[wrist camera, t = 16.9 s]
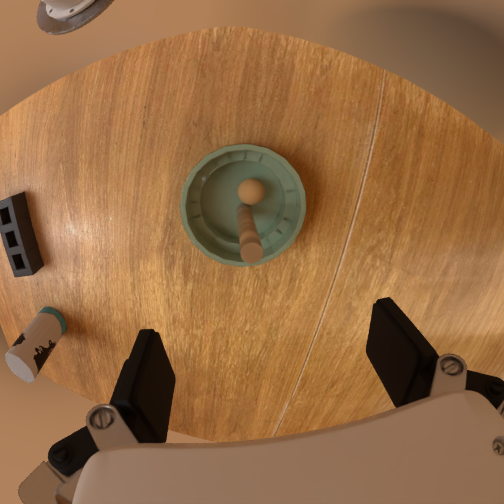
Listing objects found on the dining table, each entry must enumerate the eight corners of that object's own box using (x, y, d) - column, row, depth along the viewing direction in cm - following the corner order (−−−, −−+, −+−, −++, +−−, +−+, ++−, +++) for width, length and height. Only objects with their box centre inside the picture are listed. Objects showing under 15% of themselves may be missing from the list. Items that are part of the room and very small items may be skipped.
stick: (237, 202, 39) (242, 241, 24) (251, 203, 39) (265, 243, 24) (235, 215, 40) (239, 262, 25) (249, 217, 40) (261, 264, 25)
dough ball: (250, 168, 35) (247, 187, 34) (271, 181, 37) (269, 201, 35) (234, 182, 38) (230, 201, 36) (254, 194, 40) (252, 214, 38)
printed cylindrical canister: (36, 315, 44) (1, 360, 31) (48, 301, 43) (10, 347, 29) (57, 338, 47) (27, 386, 33) (71, 325, 46) (39, 376, 32)
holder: (6, 198, 35) (-7, 204, 31) (24, 191, 35) (10, 196, 32) (25, 268, 40) (14, 277, 37) (44, 265, 41) (33, 275, 37)
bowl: (180, 152, 36) (171, 154, 31) (291, 139, 37) (301, 139, 31) (196, 255, 42) (192, 272, 37) (298, 243, 43) (308, 258, 37)
